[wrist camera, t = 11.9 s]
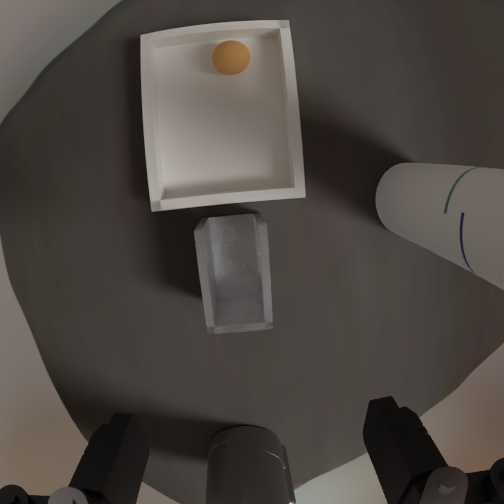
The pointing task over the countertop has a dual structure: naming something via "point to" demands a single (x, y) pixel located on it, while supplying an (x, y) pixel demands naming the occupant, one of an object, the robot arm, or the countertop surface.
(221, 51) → the ball
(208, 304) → the scoop
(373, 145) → the countertop surface
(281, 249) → the countertop surface
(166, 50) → the tray
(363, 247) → the countertop surface
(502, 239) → the cylindrical container
